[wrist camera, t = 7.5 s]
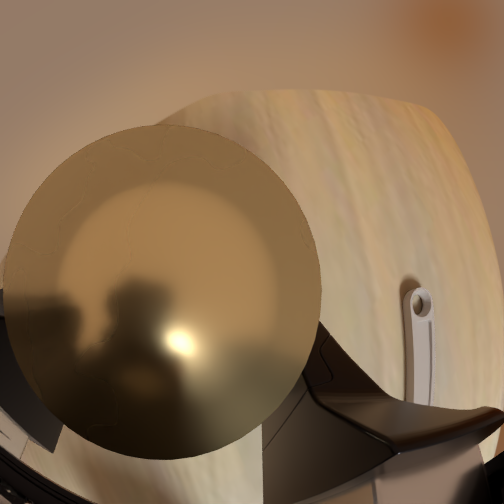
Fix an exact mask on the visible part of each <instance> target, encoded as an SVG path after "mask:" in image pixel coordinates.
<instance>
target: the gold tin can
mask: <svg viewBox="0 0 504 504" xmlns="http://www.w3.org/2000/svg"><path fill="white" fill-rule="evenodd" d="M321 292H322V288H321V275H320V264H319V259H318V255H317V250H316V246H315V241H314V239H313V236H312V233H311V230H310V228H309V225H308V222H307V220H306V218H305V216H304V214H303V212H302V210H301V208H300V206H299V204H298V203H297V201H296V199H295V198H294V196H293V195H292V193H291V192H290V191H289V189H288V188H287V186H286V185H285V184H284V182H283V181H282V180H281V179H280V178H279V177H278V176H277V175H276V174H275V172H274V171H273V170H272V169H271V168H270V167H269V166H268V165H267V164H265V163H264V162H263V161H262V160H260V159H259V158H258V157H257V156H255V155H254V154H253V153H252V152H250V151H248V150H247V149H245V148H243V147H242V146H240V145H238V144H237V143H235V142H233V141H231V140H229V139H226V138H224V137H222V136H220V135H217V134H214V133H211V132H208V131H204V130H201V129H197V128H191V127H185V126H177V125H153V126H142V127H137V128H132V129H128V130H123V131H120V132H117V133H114V134H111V135H109V136H106V137H104V138H101V139H99V140H97V141H95V142H93V143H91V144H89V145H87V146H86V147H84V148H82V149H81V150H79V151H78V152H76V153H75V154H73V155H72V156H71V157H69V158H68V159H67V160H66V161H64V162H63V163H62V164H61V165H60V166H59V167H57V168H56V169H55V170H54V171H53V172H52V173H51V174H50V175H49V176H48V177H47V178H46V180H45V181H44V182H43V183H42V184H41V186H40V187H39V188H38V189H37V191H36V192H35V194H34V195H33V196H32V198H31V199H30V201H29V203H28V204H27V206H26V208H25V209H24V211H23V213H22V215H21V217H20V220H19V221H18V224H17V226H16V228H15V231H14V234H13V237H12V239H11V242H10V246H9V250H8V254H7V258H6V263H5V271H4V280H3V306H4V315H5V323H6V327H7V332H8V336H9V340H10V344H11V346H12V349H13V352H14V355H15V358H16V360H17V362H18V365H19V367H20V369H21V371H22V373H23V375H24V376H25V378H26V380H27V382H28V383H29V385H30V386H31V388H32V389H33V391H34V392H35V394H36V395H37V397H38V398H39V399H40V400H41V401H42V403H43V404H44V405H45V406H46V407H47V408H48V409H49V411H50V412H51V413H52V414H53V415H54V416H56V417H57V418H58V419H59V420H60V421H61V422H62V423H63V424H65V425H66V426H67V427H68V428H70V429H71V430H72V431H74V432H75V433H77V434H78V435H80V436H81V437H83V438H85V439H86V440H88V441H90V442H92V443H94V444H96V445H98V446H100V447H102V448H105V449H107V450H110V451H113V452H116V453H119V454H123V455H126V456H131V457H137V458H143V459H153V460H173V459H181V458H188V457H195V456H198V455H202V454H205V453H208V452H212V451H215V450H218V449H220V448H222V447H224V446H226V445H228V444H230V443H232V442H234V441H236V440H238V439H240V438H242V437H243V436H245V435H246V434H248V433H249V432H250V431H252V430H253V429H255V428H256V427H257V426H259V425H260V424H261V423H262V422H263V421H264V420H265V419H267V418H268V417H269V416H270V415H271V414H272V413H273V412H274V411H275V410H276V409H277V408H278V407H279V405H280V404H281V403H282V402H283V400H284V399H285V398H286V396H287V395H288V394H289V392H290V391H291V390H292V388H293V387H294V385H295V383H296V382H297V380H298V378H299V376H300V374H301V373H302V371H303V369H304V367H305V365H306V363H307V360H308V357H309V355H310V352H311V349H312V346H313V344H314V341H315V337H316V332H317V327H318V323H319V318H320V308H321Z"/></svg>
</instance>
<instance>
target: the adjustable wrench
mask: <svg viewBox="0 0 504 504" xmlns="http://www.w3.org/2000/svg"><path fill="white" fill-rule="evenodd" d="M416 294H417V295H419V296H420V297H421V299H422V303H423V307H422V311H421V313H420V314H418V315H416V314H415V312H414V310H413V307H412V300H413V296H414V295H416ZM403 314H404V326H405V342H406V402H411V403H416V404H422V405H428V406H433V401H434V387H435V324H434V309H433V300H432V296H431V294H430V292H429V291H428V290H427V289H425V288H423V287H419V288H416V289H412V290H410V291H408V292H407V293H406V295H405V297H404V300H403Z"/></svg>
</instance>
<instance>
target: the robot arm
mask: <svg viewBox="0 0 504 504" xmlns="http://www.w3.org/2000/svg"><path fill="white" fill-rule="evenodd" d="M503 423H504V412H503V411H501V410H500V409H497V408H492V407H487V406H484V407H480V408H477V409H472V410H456V409H447V408H440V407H434V406H428V405H422V404H416V403H411V402H406V401H401V400H398V399H395V398H393V397H392V396H390V395H388V394H387V393H386V392H384V391H383V390H382V389H381V388H380V387H379V386H378V385H377V384H376V383H375V382H374V381H373V380H372V379H371V378H370V377H369V376H368V375H367V374H366V373H365V372H364V371H363V370H362V369H361V368H360V367H359V366H358V365H357V364H356V363H355V362H354V361H353V360H352V359H351V358H350V356H349V355H348V354H347V353H346V352H345V351H344V350H343V349H342V347H341V346H340V345H339V344H338V343H337V342H336V340H335V339H334V338H333V337H332V336H331V335H330V333H329V332H328V331H327V329H326V328H325V327H324V326H323V324H322V323H321V322H320V321H319V323H318V327H317V332H316V337H315V341H314V344H313V346H312V349H311V352H310V355H309V357H308V360H307V363H306V365H305V367H304V369H303V371H302V373H301V374H300V376H299V378H298V380H297V382H296V383H295V385H294V387H293V388H292V390H291V391H290V392H289V394H288V395H287V396H286V398H285V399H284V400H283V402H282V403H281V404H280V405H279V407H278V408H277V409H276V410H275V411H274V412H273V413H272V414H271V415H270V416H269V417H268V418H267V419H265V420H264V421H263V422H262V451H263V452H262V460H263V504H504V451H503V452H501V453H500V454H499V455H497V456H496V457H494V458H493V459H491V460H490V461H488V462H487V463H485V464H484V462H483V458H482V455H481V451H480V448H479V445H478V444H479V443H480V442H482V441H483V440H484V439H486V438H487V437H488V436H490V435H491V434H492V433H493V432H495V431H496V430H497V429H498V428H499V427H500V426H501V425H502V424H503ZM63 425H64V424H63V423H62V422H61V421H60V420H59V419H58V418H57V417H56V416H54V415H53V414H52V413H51V412H50V411H49V409H48V408H47V407H46V406H45V405H44V404H43V403H42V401H41V400H40V399H39V398H38V397H37V395H36V394H35V392H34V391H33V389H32V388H31V386H30V385H29V383H28V382H27V380H26V378H25V376H24V375H23V373H22V371H21V369H20V367H19V365H18V362H17V360H16V358H15V355H14V352H13V349H12V346H11V344H10V340H9V336H8V332H7V327H6V323H5V315H4V306H3V289H0V504H97V503H95V502H92V501H90V500H88V499H86V498H84V497H82V496H80V495H78V494H76V493H74V492H72V491H70V490H68V489H66V488H64V487H62V486H60V485H59V484H57V483H55V482H53V481H52V480H50V479H48V478H47V477H45V476H43V475H42V474H40V473H39V472H37V471H36V470H34V469H33V468H31V467H30V466H28V465H27V464H25V463H24V462H22V461H21V460H20V459H21V456H22V454H23V451H24V449H25V447H26V444H27V442H28V440H29V439H30V440H31V441H33V442H34V443H36V444H37V445H39V446H41V447H42V448H44V449H46V450H47V451H49V452H51V453H53V452H54V450H55V447H56V444H57V441H58V438H59V436H60V433H61V430H62V427H63Z"/></svg>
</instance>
